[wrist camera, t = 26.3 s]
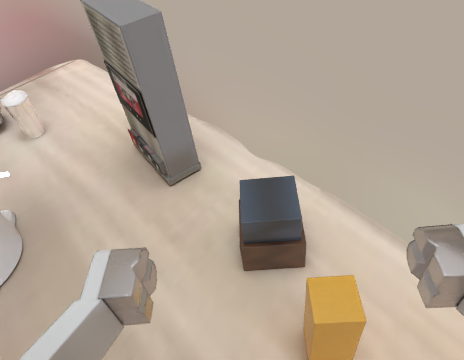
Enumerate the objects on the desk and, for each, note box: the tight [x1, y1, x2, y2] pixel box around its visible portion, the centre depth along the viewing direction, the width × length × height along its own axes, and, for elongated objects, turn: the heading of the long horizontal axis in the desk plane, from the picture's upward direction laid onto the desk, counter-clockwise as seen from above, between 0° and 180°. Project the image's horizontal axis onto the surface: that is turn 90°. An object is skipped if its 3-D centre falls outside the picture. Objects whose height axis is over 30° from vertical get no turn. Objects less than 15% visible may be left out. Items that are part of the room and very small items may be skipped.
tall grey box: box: [81, 0, 201, 186], centre depth 52 cm, size 14×6×25 cm, turn 36°
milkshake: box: [0, 90, 45, 139], centre depth 68 cm, size 5×5×10 cm
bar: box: [304, 275, 366, 360], centre depth 33 cm, size 4×4×11 cm
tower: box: [239, 176, 306, 271], centre depth 43 cm, size 8×8×9 cm
